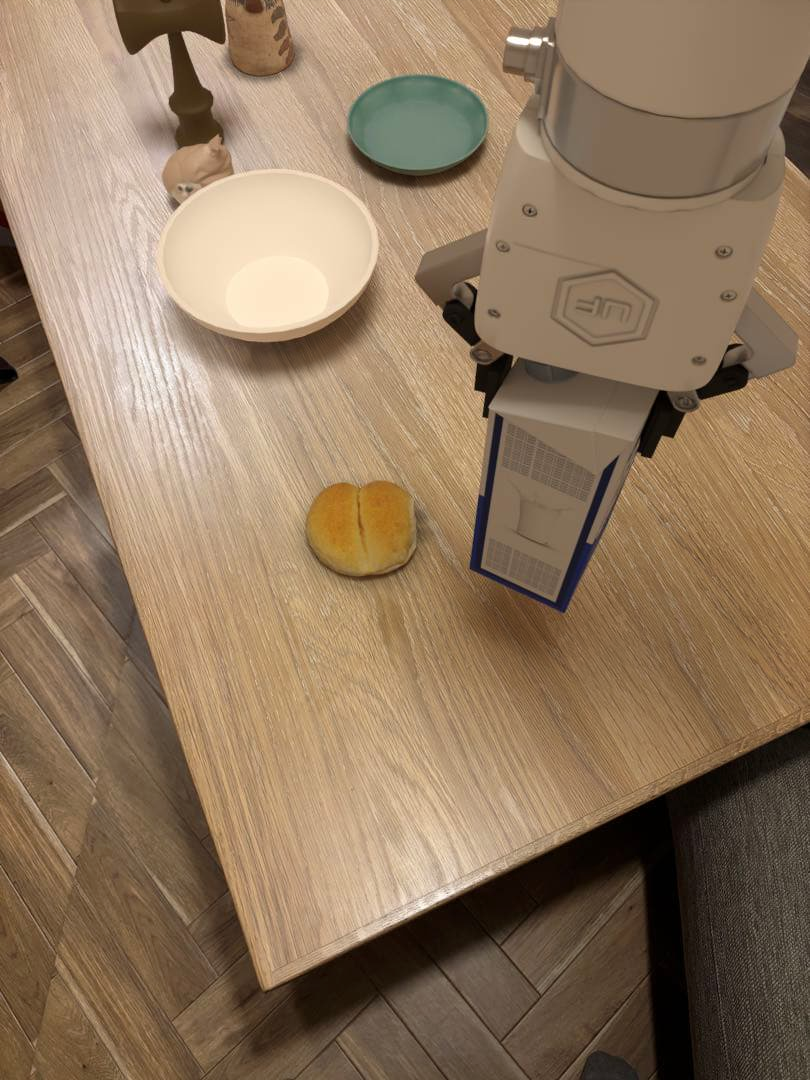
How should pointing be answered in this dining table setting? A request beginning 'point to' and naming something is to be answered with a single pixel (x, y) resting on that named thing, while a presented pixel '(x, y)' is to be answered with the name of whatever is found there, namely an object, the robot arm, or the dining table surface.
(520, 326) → the robot arm
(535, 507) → the milk carton
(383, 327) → the dining table surface
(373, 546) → the bread roll
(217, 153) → the garlic bulb
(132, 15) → the kendama
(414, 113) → the saucer
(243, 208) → the bowl
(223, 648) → the dining table surface
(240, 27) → the figurine
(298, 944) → the dining table surface
